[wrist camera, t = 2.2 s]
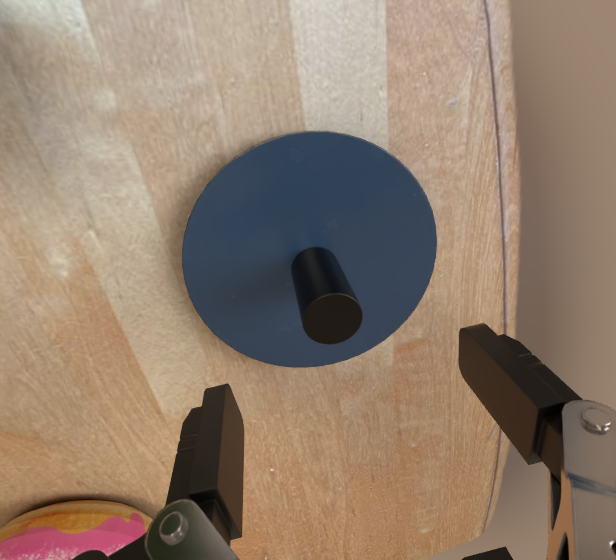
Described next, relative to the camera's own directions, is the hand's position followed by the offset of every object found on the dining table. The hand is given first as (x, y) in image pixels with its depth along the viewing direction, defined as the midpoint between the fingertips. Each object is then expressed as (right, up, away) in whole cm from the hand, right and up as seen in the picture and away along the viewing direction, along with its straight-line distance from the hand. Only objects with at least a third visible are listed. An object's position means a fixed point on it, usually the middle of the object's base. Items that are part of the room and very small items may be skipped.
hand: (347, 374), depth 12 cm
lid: (-1, +4, +8) cm, 9 cm away
